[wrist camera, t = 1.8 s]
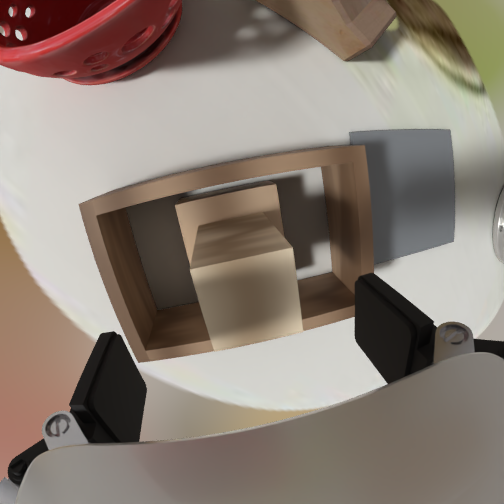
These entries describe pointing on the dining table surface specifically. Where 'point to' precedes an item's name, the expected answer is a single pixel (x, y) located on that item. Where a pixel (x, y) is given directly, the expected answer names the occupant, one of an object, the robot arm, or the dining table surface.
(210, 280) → the maple block
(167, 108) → the dining table surface
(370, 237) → the walnut box
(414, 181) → the mat
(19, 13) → the plant pot
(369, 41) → the decorative block
